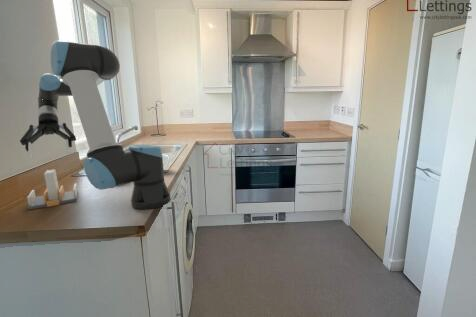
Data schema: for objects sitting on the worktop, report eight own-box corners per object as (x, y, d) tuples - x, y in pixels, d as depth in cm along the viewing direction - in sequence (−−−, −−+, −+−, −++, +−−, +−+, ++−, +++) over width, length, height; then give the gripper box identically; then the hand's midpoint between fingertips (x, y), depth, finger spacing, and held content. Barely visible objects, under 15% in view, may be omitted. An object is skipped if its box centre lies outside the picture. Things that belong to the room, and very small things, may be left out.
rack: (76, 201, 107) (74, 190, 106) (28, 210, 100) (25, 198, 99) (78, 192, 118) (76, 182, 117) (35, 199, 111) (32, 189, 110)
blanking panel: (58, 199, 107) (53, 172, 105) (49, 200, 106) (44, 173, 103) (60, 194, 112) (55, 169, 110) (51, 196, 111) (46, 170, 108)
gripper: (80, 121, 130) (84, 155, 121) (17, 125, 119) (16, 163, 109) (77, 110, 124) (81, 146, 115) (11, 113, 113) (9, 153, 104)
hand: (49, 154), depth 112 cm, fingers open, 13 cm apart
